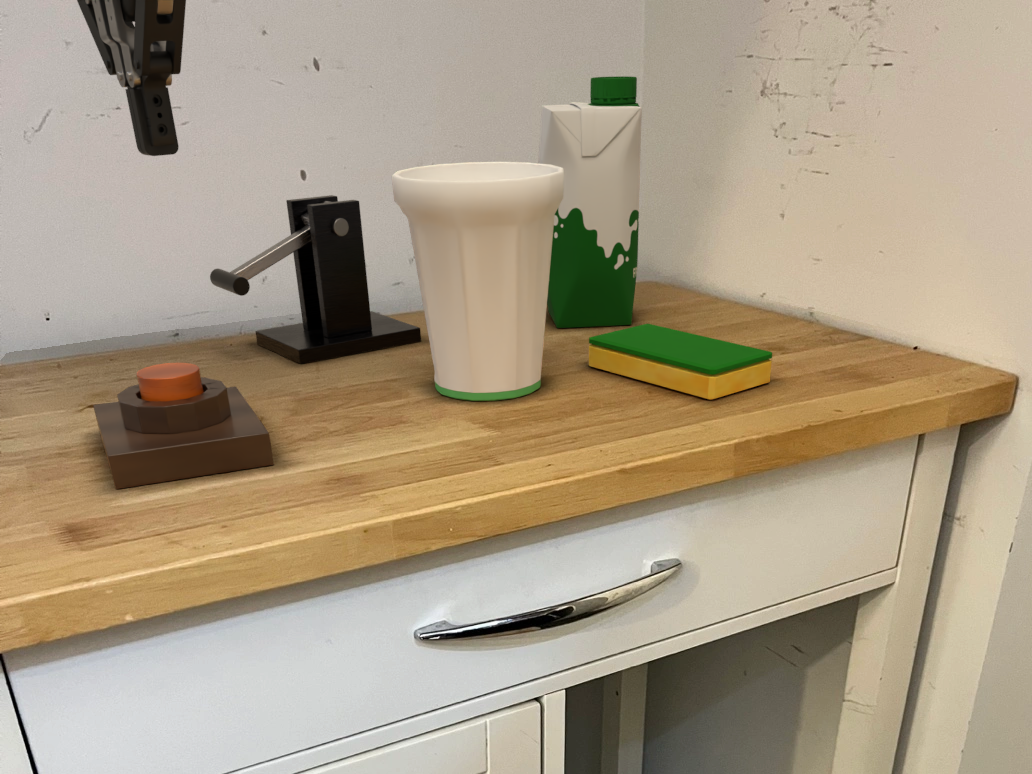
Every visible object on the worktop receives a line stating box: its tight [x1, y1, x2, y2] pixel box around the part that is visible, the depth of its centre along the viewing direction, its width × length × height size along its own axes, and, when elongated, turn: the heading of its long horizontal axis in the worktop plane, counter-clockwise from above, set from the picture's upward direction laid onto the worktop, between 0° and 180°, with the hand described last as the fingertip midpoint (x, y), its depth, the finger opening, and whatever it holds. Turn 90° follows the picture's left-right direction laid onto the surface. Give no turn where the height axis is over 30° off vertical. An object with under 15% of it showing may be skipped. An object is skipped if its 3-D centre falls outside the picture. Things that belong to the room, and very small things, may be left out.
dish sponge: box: [588, 323, 773, 401], centre depth 87 cm, size 7×14×2 cm, turn 40°
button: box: [136, 362, 204, 401], centre depth 72 cm, size 4×4×2 cm
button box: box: [93, 376, 275, 490], centre depth 74 cm, size 12×10×4 cm
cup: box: [391, 161, 564, 402], centre depth 82 cm, size 12×12×15 cm
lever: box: [209, 201, 329, 297], centre depth 92 cm, size 12×5×2 cm, turn 127°
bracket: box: [254, 194, 422, 365], centre depth 96 cm, size 12×9×12 cm
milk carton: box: [537, 76, 643, 329], centre depth 100 cm, size 9×9×20 cm
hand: (159, 154), depth 70 cm, fingers closed
